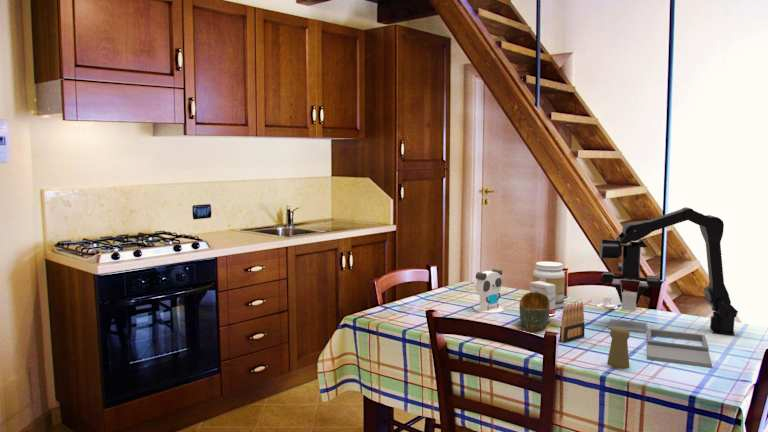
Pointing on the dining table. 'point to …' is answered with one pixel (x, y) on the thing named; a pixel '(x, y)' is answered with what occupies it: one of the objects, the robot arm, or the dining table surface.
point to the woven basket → (534, 311)
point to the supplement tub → (552, 278)
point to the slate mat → (628, 325)
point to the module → (629, 301)
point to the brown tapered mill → (619, 348)
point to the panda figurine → (489, 291)
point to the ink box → (545, 292)
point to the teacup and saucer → (607, 303)
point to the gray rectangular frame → (678, 349)
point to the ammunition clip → (572, 323)
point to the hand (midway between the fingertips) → (629, 303)
